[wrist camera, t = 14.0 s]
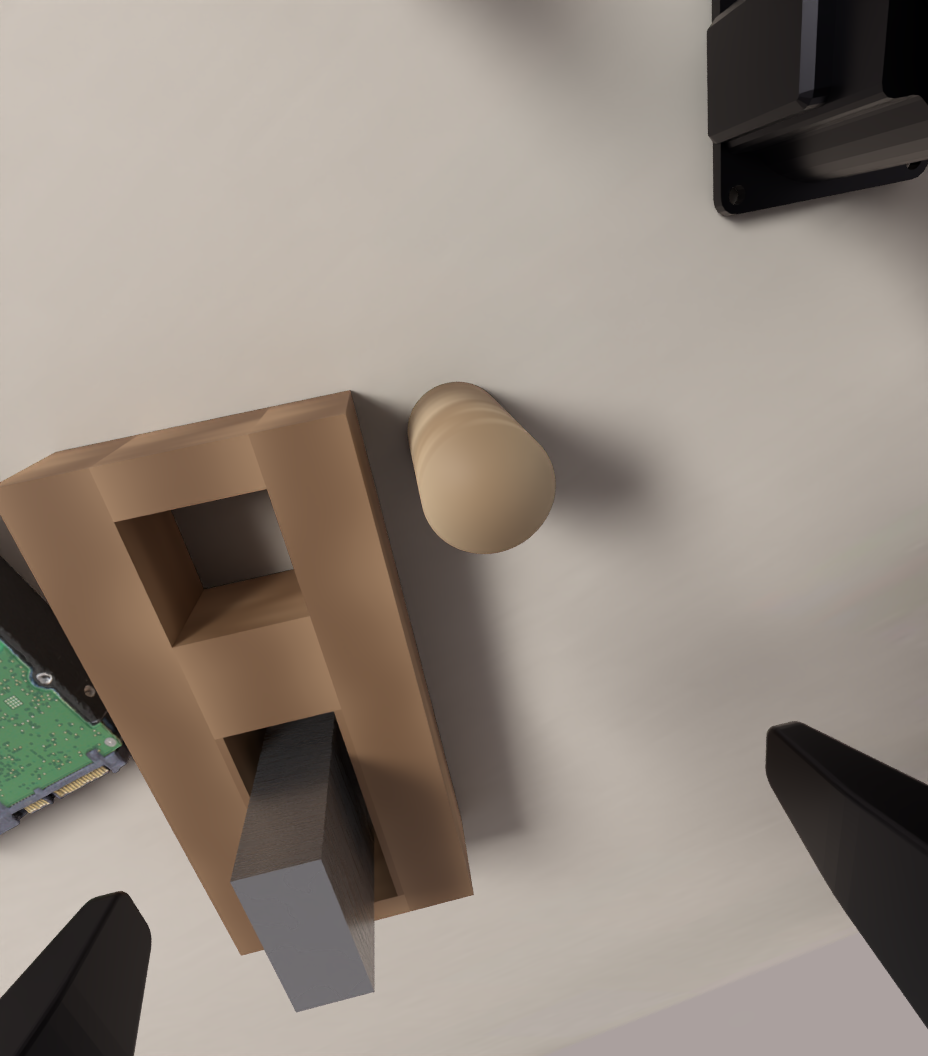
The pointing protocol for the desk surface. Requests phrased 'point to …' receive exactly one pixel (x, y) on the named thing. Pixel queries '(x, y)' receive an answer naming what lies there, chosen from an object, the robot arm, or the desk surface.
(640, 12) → the desk surface
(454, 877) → the socket board
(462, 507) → the round dowel
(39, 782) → the disk drive
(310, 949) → the tall grey rectangular prism
